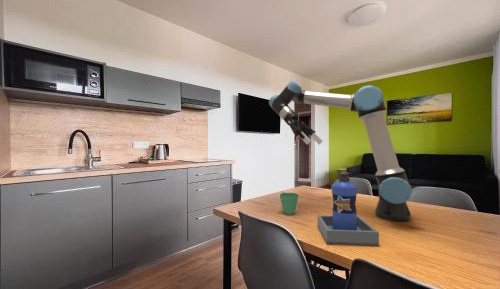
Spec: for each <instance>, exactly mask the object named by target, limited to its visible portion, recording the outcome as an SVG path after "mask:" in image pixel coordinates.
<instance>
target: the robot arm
mask: <svg viewBox="0 0 500 289" xmlns="http://www.w3.org/2000/svg"><path fill="white" fill-rule="evenodd" d="M302 89H303V87H302V86H301V85H300V84H298V82H296V81H295V80H293V79H292V80H291V81H289V83H288V84H286V86H285V87H284V89H283V90H282V91H281V92H280V93H279V94H275V95H273V96H271V97H270V99H269V101H268V104H269V106H270V107H271V109H272V110H273V112H275V113H276V114H277V115H278V116H279V117H280V119H281V120H282V121H284V123H286V125H287V126H289V127H290V129H291V131H292V133H293V134H294V135H295V136H296V137H299V138H300V139H301V140H302V141H303V142H304V143H305V144H306V145H309V144H310V143H311V142H312V140H313V141H315V142H316V144H318V145H320V144H321V143H323V140H322V138H320V136H319V135H317V134H316V132H317V131H316V130H313V128H311V127H309V125H307V124H306V123H305V122H304V121H302V120H299V118H300V117H299V115H298V114H297V113H296V111H295V110H294V109H293V108H292V107H290V106H289V105H290V103H291V102H294V103H295V104H308V105H316V106H323V107H330V108H339V109H344V110H345V109H347V110H349V111H350V112H353V113H354V112H355V113H357V115H358V119H359V120H360V121H362V122H363V123H364V124H363V125H364V126H365V130H366V134H367V138H368V141H369V144H370V148H371V152H372V155H373V158H374V161H375V166H376V170H377V171H376V172H375V174H374V175H375V179H376V182H377V186H378V201H377V202H378V203H377V205H376V207H375V210H374V215H375V216H376V217H378V218H380V219H383V220H388V221H393V222H408V221H412V214H411V211H410V209H409V206H408V204H407V201H408V200H410V198H411V196H412V192H413V190H412V186H411V184H410V183H409V180H408V177H407V173H406V171H405V169H404V168H402V167H400V165H399V160H398V158H397V155H396V152H395V148H394V145H393V141H392V138H391V134H390V131H389V127H388V125H387V121H386V117H385V115H386V113H387V112H388V111H387V107H386V104H385V101H384V93H383V91H382V90H381V89H380V88H379V87H378V86H375V85H370V84H369V85H363V86H362V87H360V88H359V89H358V90H357V91H356V92H354V93H352V94H345V93H334V92H325V91H315V90H304V89H303V90H302ZM304 132H305V133H304ZM306 134H308V135H309V136H310V138H312V139H310V138H309V137H308V136H307V135H306Z"/></svg>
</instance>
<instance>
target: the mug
mask: <svg viewBox="0 0 500 289" xmlns="http://www.w3.org/2000/svg"><path fill="white" fill-rule="evenodd" d="M279 199H280V203H281V205H282V206H281V207H282V210H283V213H284V214H285V215H288V216H292V215H294V214H295V212H296V209H297V206H298V201H299V194H298V193H294V192H284V191H283V192H281V193H280V194H279Z"/></svg>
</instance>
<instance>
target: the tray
mask: <svg viewBox="0 0 500 289" xmlns="http://www.w3.org/2000/svg"><path fill="white" fill-rule="evenodd" d="M316 216H317V222H316V223H317V228H318V230H319V232H320V234H321V236H322V238H323V239H324V241H325V243H326V245H336V246H337V245H339V246H357V247H358V246H360V247H361V246H362V247H363V246H364V247H380V233H379V231H378V230H377V229H375V227H373V226H372V225H371V224H370V223H368V222H367V221H366V220H365V219H364V218H362V217H361V216H358V215H357V230H333V220H332V215H322V214H321V215H316Z"/></svg>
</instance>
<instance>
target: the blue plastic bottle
mask: <svg viewBox="0 0 500 289" xmlns="http://www.w3.org/2000/svg"><path fill="white" fill-rule="evenodd" d="M349 175H350V173H349V172H348V171H347V170H345V169H344V170H341V171H339V172H338V176H337V177H338V181H337V182H335V183H333V184H331V195H332V199H333V200H332V202H333V203H332V204H333V205H332V210H331V212H332V215H331V216H332V220H333V230H357V216H358V215H357V214H358V211H357V206H356V201H357V195H358V191H357V190H358V187H357V185H356V184H354V183H352V182H351V180H350V179H351V178H350V176H349Z"/></svg>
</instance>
